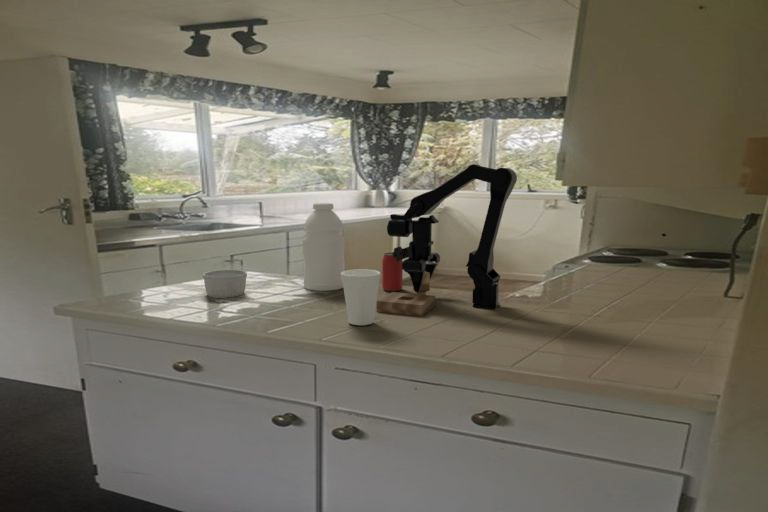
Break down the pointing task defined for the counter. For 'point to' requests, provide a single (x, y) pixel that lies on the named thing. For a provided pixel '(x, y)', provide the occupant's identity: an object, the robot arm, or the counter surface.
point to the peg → (424, 284)
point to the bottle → (323, 249)
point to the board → (406, 303)
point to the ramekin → (225, 283)
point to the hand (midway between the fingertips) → (421, 289)
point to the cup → (361, 294)
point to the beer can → (391, 273)
